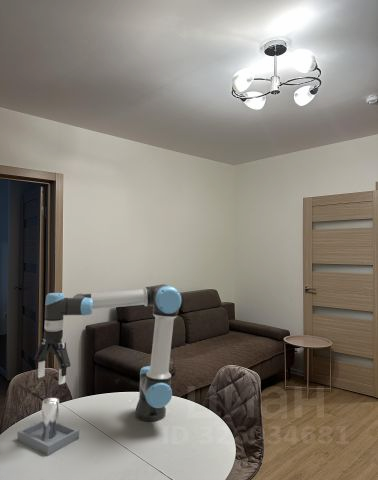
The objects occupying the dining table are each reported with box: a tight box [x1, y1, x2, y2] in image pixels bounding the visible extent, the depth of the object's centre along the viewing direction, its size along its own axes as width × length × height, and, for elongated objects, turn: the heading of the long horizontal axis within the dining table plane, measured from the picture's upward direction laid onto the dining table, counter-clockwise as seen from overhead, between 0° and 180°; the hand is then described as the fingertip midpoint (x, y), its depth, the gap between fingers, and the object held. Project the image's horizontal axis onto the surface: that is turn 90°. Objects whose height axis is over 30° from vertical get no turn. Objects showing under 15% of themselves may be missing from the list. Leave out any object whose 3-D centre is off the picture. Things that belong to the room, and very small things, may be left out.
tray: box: [16, 420, 80, 456], centre depth 145 cm, size 20×15×4 cm
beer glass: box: [40, 397, 60, 441], centre depth 145 cm, size 7×7×15 cm
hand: (51, 380), depth 146 cm, fingers open, 13 cm apart
